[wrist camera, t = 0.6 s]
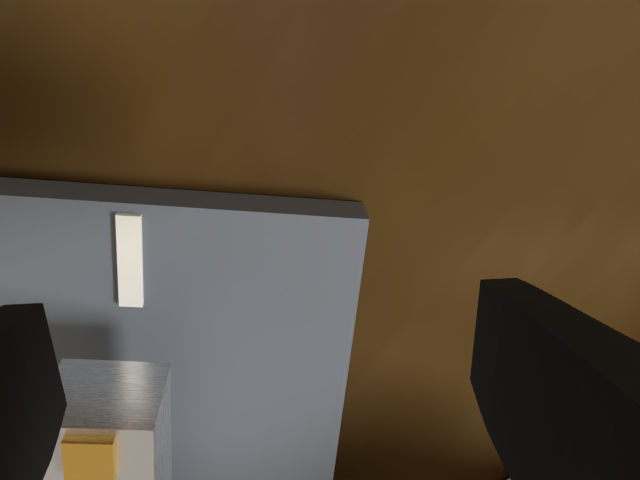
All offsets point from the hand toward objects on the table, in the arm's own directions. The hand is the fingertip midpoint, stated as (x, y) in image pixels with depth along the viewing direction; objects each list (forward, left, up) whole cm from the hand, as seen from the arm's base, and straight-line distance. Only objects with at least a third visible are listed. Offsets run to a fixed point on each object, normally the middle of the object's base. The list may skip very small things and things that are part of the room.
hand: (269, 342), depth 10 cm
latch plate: (-7, +7, -10) cm, 14 cm away
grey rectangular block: (-7, +7, -8) cm, 13 cm away
